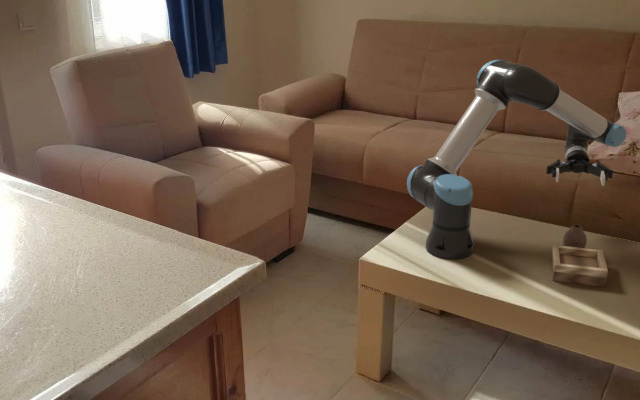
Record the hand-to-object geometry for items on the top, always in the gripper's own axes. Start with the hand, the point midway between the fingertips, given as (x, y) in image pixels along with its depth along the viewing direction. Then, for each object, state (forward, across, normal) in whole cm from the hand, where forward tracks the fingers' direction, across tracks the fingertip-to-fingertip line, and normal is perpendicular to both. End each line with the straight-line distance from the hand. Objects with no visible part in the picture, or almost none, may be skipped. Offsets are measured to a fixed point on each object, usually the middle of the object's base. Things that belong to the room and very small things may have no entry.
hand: (580, 180), depth 198 cm
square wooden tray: (+24, 0, -20) cm, 32 cm away
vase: (+9, 0, -21) cm, 23 cm away
